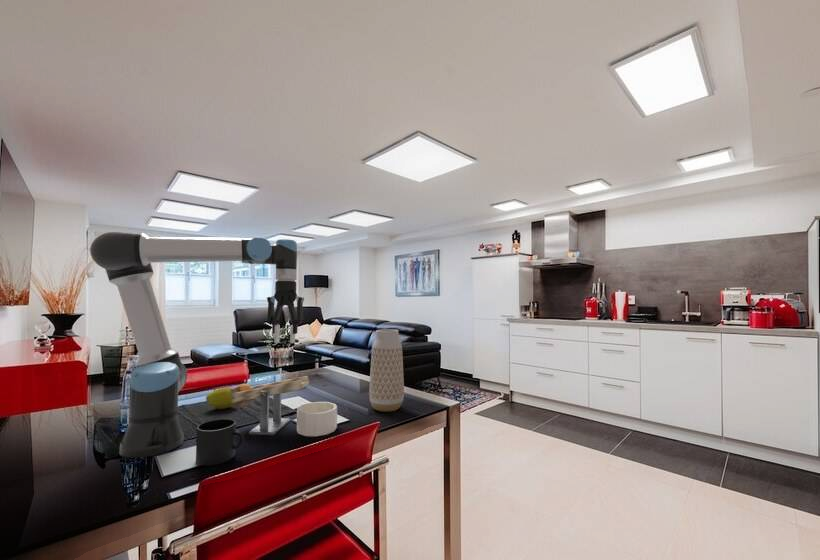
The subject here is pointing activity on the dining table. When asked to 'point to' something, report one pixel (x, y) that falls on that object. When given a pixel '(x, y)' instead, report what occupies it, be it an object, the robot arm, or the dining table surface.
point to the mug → (216, 441)
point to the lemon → (220, 398)
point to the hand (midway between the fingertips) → (284, 342)
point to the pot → (316, 418)
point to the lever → (247, 396)
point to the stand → (268, 424)
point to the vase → (386, 371)
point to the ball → (244, 387)
